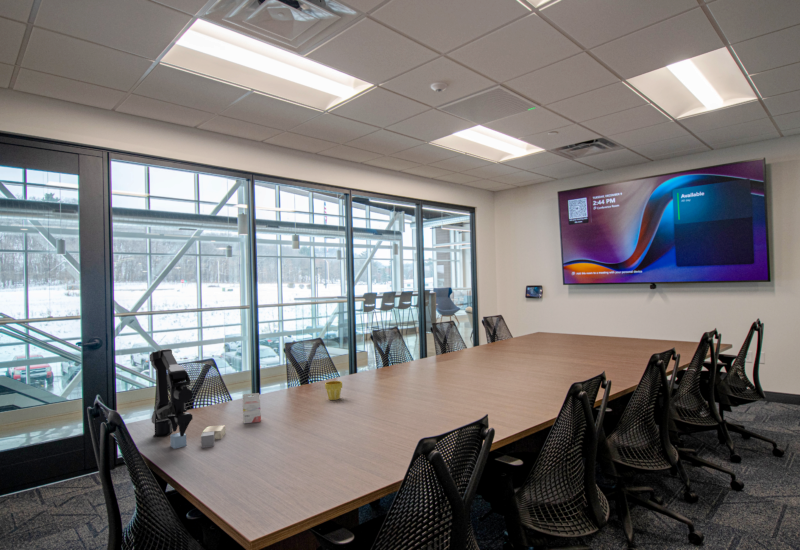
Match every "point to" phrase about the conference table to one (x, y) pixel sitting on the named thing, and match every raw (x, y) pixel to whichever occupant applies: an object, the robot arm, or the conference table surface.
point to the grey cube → (207, 439)
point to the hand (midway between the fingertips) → (178, 433)
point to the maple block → (216, 431)
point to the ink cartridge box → (251, 408)
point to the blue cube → (177, 440)
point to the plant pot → (333, 389)
